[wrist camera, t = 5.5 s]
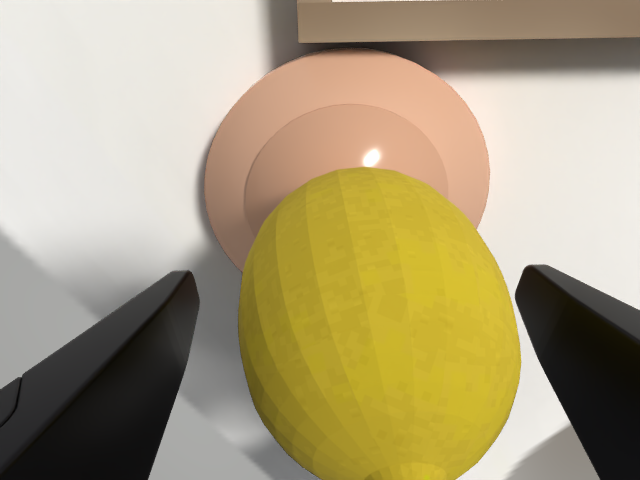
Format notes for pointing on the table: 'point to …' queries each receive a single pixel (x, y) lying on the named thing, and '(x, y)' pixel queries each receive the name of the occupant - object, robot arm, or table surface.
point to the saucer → (339, 137)
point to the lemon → (377, 330)
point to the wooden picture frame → (465, 20)
